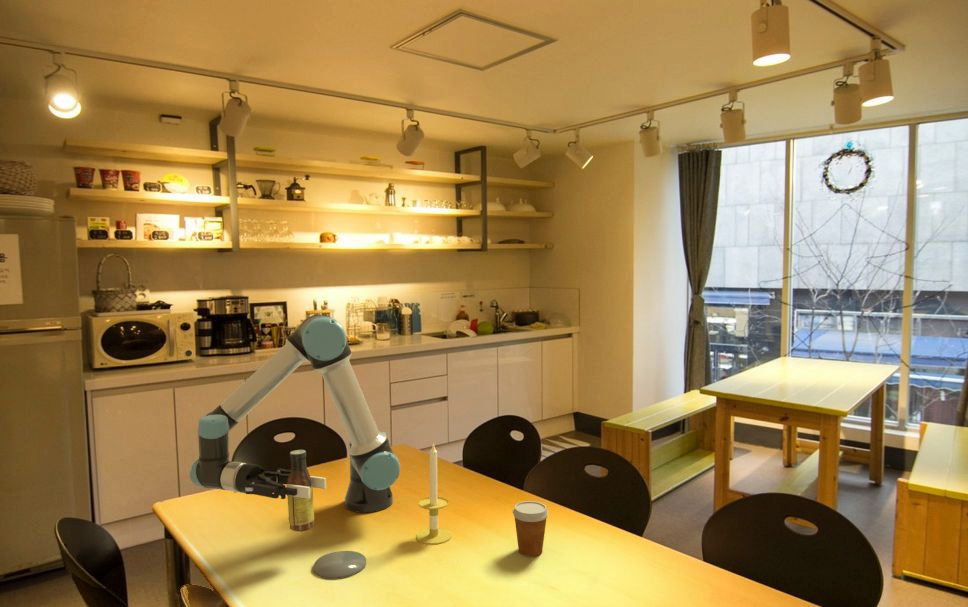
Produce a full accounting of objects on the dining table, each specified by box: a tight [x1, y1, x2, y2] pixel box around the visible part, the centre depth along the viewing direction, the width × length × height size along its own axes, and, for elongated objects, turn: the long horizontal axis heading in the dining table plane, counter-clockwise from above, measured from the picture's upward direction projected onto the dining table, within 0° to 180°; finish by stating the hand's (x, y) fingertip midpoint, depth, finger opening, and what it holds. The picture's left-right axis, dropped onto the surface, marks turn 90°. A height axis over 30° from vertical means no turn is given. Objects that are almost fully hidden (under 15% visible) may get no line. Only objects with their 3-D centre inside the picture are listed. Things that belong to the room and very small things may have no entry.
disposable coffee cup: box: [512, 500, 550, 557], centre depth 161 cm, size 10×10×12 cm
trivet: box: [313, 550, 367, 580], centre depth 154 cm, size 13×13×1 cm
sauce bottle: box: [286, 449, 315, 532], centre depth 155 cm, size 6×6×20 cm
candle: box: [416, 442, 452, 546], centre depth 170 cm, size 10×10×27 cm
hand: (317, 487), depth 154 cm, fingers closed on sauce bottle, 6 cm apart
